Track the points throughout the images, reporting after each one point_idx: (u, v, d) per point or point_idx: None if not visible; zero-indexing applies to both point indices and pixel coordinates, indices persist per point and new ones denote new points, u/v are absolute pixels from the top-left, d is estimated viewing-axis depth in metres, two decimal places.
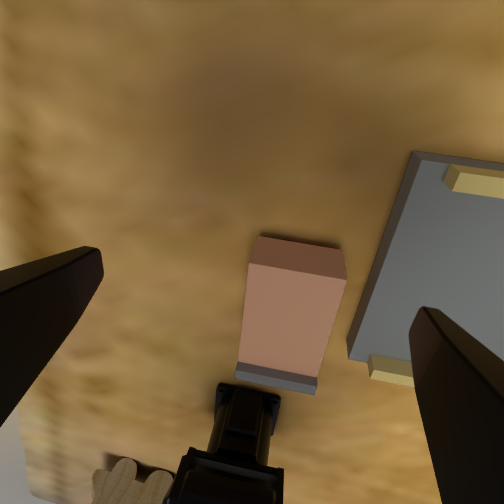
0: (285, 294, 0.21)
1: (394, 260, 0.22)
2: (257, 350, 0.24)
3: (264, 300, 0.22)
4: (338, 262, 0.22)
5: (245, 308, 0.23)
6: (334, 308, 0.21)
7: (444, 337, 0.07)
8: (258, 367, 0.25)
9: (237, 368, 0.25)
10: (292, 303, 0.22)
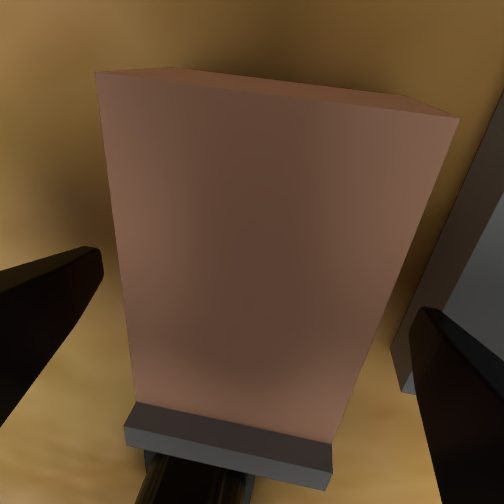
0: (234, 198, 0.06)
1: None
2: (178, 377, 0.09)
3: (171, 227, 0.07)
4: (405, 101, 0.07)
5: (122, 255, 0.08)
6: (397, 244, 0.06)
7: (444, 337, 0.07)
8: (184, 417, 0.10)
9: (129, 421, 0.10)
10: (257, 234, 0.07)
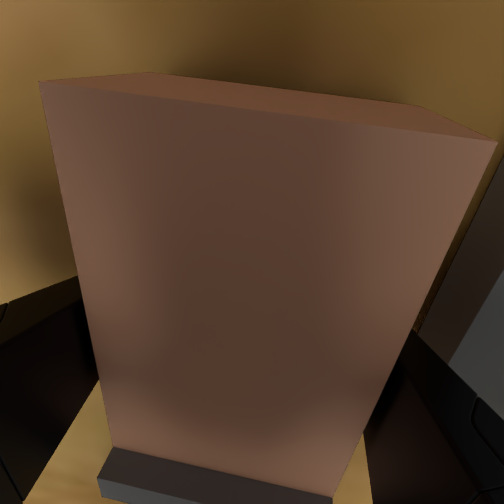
0: (215, 233, 0.05)
1: None
2: (157, 423, 0.08)
3: (142, 264, 0.06)
4: (421, 115, 0.06)
5: (87, 294, 0.06)
6: (412, 290, 0.05)
7: None
8: (166, 466, 0.09)
9: (104, 471, 0.09)
10: (244, 274, 0.06)
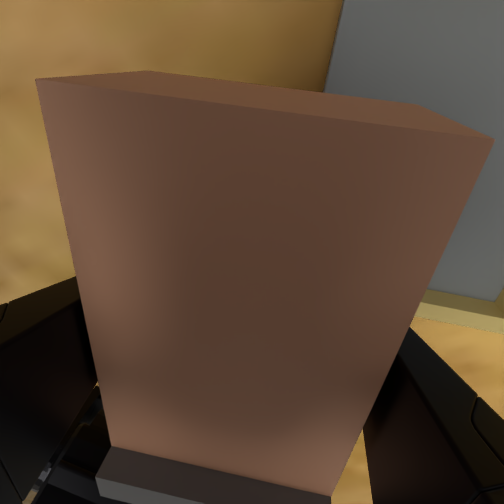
0: (212, 231, 0.05)
1: None
2: (156, 422, 0.08)
3: (139, 262, 0.06)
4: (419, 113, 0.06)
5: (84, 293, 0.06)
6: (410, 288, 0.05)
7: None
8: (165, 465, 0.09)
9: (102, 470, 0.09)
10: (241, 272, 0.06)
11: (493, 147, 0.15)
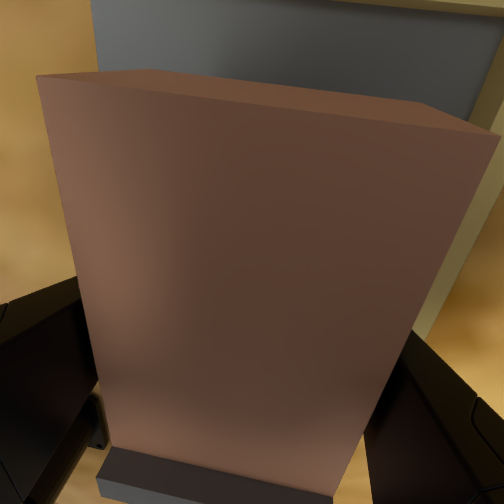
0: (214, 230, 0.05)
1: None
2: (157, 423, 0.08)
3: (141, 261, 0.06)
4: (423, 110, 0.06)
5: (85, 292, 0.06)
6: (414, 287, 0.05)
7: None
8: (166, 466, 0.09)
9: (103, 471, 0.09)
10: (244, 271, 0.06)
11: None
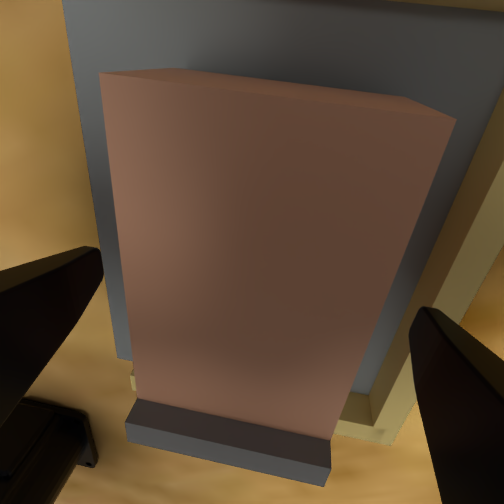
0: (235, 197, 0.07)
1: (103, 171, 0.12)
2: (179, 373, 0.10)
3: (173, 225, 0.07)
4: (403, 102, 0.07)
5: (124, 253, 0.08)
6: (395, 243, 0.06)
7: (444, 337, 0.07)
8: (185, 414, 0.10)
9: (130, 417, 0.10)
10: (257, 232, 0.07)
11: None
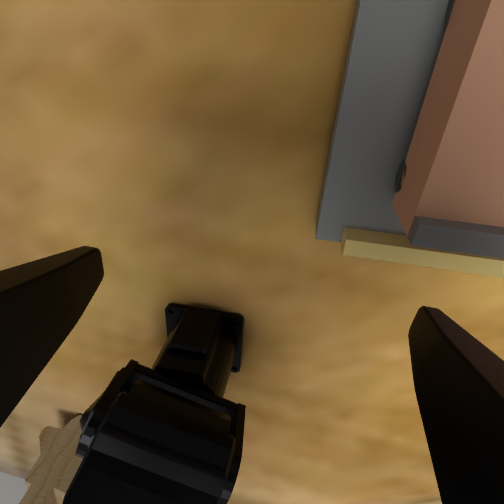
0: None
1: (363, 55, 0.15)
2: (464, 183, 0.13)
3: None
4: None
5: (469, 70, 0.11)
6: None
7: (444, 337, 0.07)
8: (457, 222, 0.14)
9: (420, 222, 0.13)
10: None
11: None
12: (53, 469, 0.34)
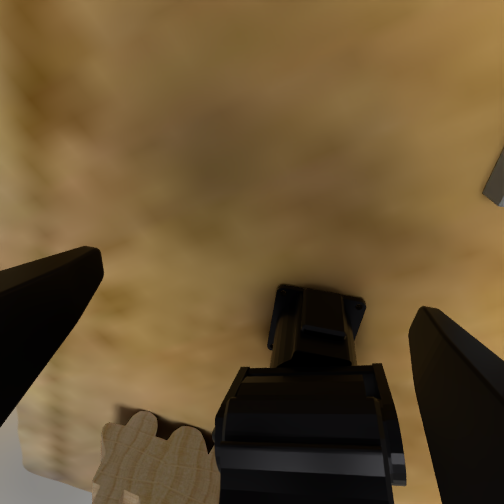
0: None
1: None
2: None
3: None
4: None
5: None
6: None
7: (444, 337, 0.07)
8: None
9: None
10: None
11: None
12: (121, 469, 0.31)
